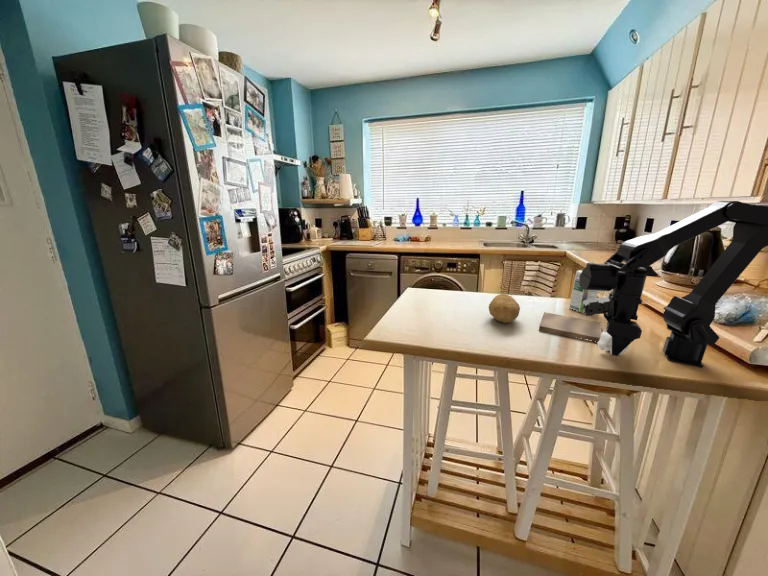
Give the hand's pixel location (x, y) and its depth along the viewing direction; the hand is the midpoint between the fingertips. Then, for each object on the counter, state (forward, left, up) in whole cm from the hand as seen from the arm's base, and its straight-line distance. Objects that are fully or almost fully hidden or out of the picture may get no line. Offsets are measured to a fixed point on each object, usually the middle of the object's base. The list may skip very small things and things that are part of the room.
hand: (612, 348), depth 80 cm
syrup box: (+7, -33, -1) cm, 34 cm away
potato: (+29, -7, -2) cm, 30 cm away
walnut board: (+10, -12, -1) cm, 16 cm away
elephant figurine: (0, 0, -2) cm, 2 cm away
